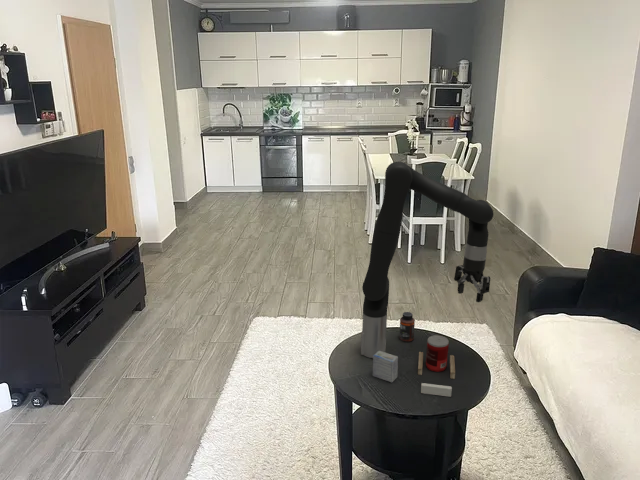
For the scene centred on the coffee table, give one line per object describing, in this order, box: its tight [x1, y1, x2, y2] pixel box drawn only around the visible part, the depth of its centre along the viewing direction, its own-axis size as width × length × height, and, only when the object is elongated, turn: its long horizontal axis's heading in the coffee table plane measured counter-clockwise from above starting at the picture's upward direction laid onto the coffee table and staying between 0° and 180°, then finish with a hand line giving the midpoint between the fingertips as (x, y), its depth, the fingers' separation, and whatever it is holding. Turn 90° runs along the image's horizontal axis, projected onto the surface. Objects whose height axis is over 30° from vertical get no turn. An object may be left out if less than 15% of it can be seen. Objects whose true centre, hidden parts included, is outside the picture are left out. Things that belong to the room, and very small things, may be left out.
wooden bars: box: [417, 351, 456, 380], centre depth 189 cm, size 13×12×2 cm
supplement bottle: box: [398, 311, 416, 342], centre depth 209 cm, size 6×6×11 cm
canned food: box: [425, 334, 450, 373], centre depth 188 cm, size 8×8×11 cm
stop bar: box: [420, 382, 453, 398], centre depth 173 cm, size 10×2×3 cm, turn 78°
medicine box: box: [372, 351, 399, 383], centre depth 182 cm, size 8×4×9 cm, turn 56°
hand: (469, 297), depth 188 cm, fingers open, 8 cm apart
